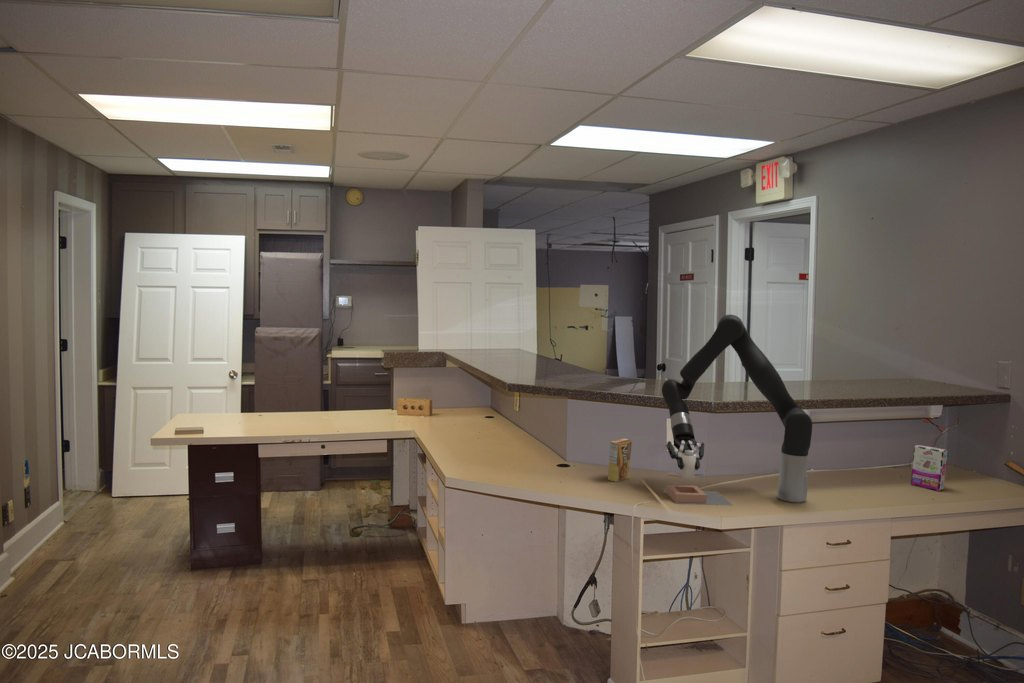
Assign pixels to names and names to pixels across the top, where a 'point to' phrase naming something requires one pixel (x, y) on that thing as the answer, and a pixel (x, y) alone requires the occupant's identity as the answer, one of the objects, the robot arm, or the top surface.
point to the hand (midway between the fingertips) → (689, 468)
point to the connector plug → (688, 465)
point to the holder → (694, 495)
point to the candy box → (619, 459)
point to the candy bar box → (929, 467)
